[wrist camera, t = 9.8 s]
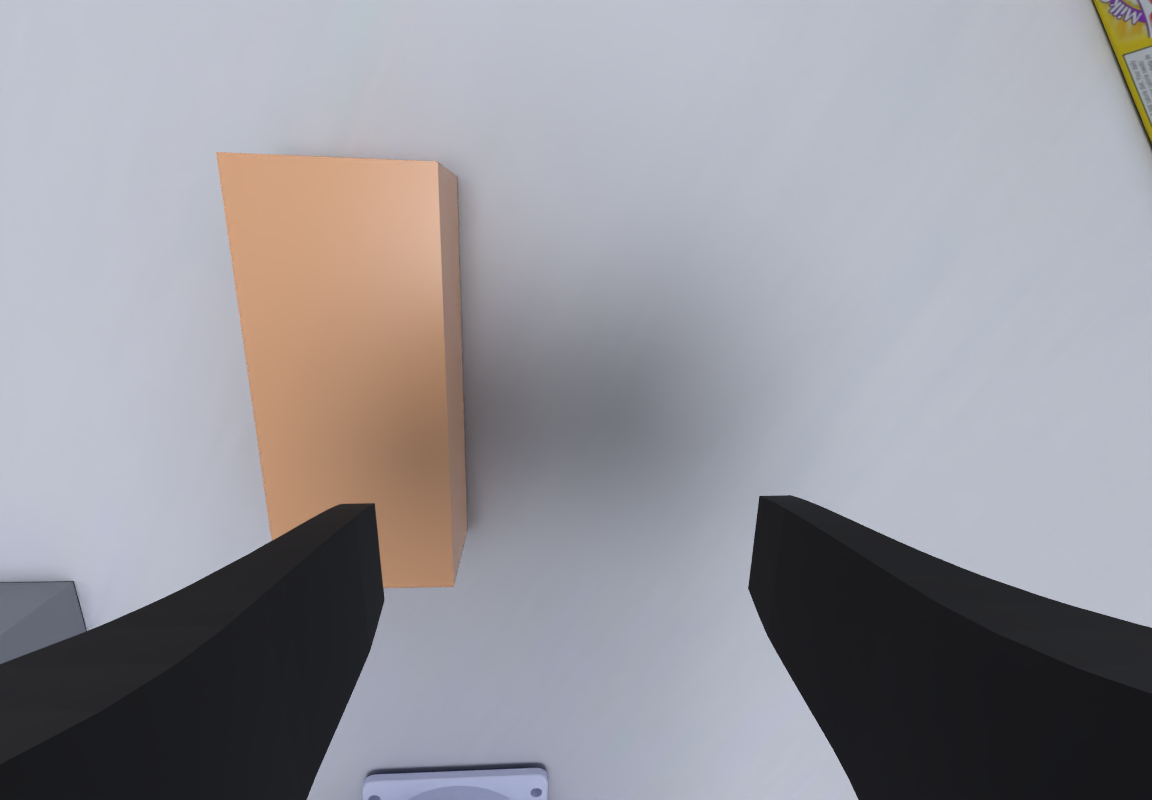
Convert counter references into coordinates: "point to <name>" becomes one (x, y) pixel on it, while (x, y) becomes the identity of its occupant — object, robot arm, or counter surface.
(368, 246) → the tan rectangular plank
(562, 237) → the counter surface
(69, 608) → the storage box
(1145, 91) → the candy box
